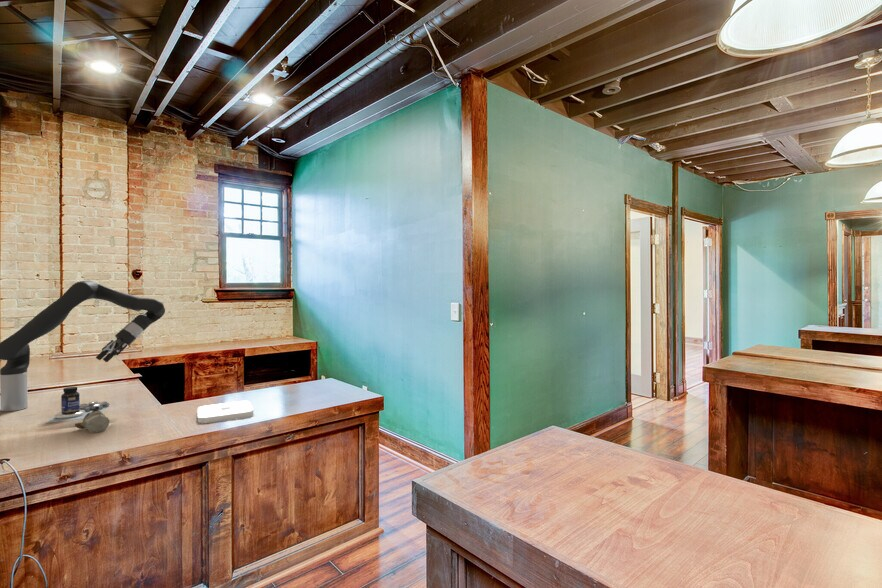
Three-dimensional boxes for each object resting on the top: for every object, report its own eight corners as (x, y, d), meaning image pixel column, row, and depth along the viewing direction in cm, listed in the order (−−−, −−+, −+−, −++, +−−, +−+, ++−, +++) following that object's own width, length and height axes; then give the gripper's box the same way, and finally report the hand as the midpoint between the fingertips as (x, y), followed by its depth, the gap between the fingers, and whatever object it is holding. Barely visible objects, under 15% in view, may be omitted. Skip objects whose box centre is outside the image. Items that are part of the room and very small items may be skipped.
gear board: (65, 411, 200) (65, 408, 200) (110, 407, 208) (110, 404, 208) (45, 426, 179) (45, 422, 179) (96, 420, 186) (96, 417, 186)
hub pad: (59, 414, 191) (59, 411, 191) (88, 411, 196) (88, 408, 196) (51, 420, 182) (51, 417, 182) (81, 417, 187) (81, 414, 187)
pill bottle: (68, 415, 186) (68, 389, 185) (57, 414, 187) (57, 389, 187) (83, 411, 192) (82, 386, 191) (72, 410, 193) (72, 385, 193)
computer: (254, 417, 192) (254, 411, 192) (197, 424, 181) (197, 418, 181) (249, 405, 211) (249, 400, 211) (197, 412, 200) (197, 406, 200)
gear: (78, 406, 203) (78, 400, 203) (111, 403, 209) (111, 397, 209) (69, 413, 192) (69, 407, 192) (104, 409, 198) (104, 404, 198)
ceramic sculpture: (83, 414, 166) (72, 410, 175) (83, 436, 166) (73, 431, 175) (116, 408, 174) (104, 404, 183) (116, 429, 174) (105, 425, 183)
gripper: (117, 327, 210) (88, 353, 201) (129, 329, 202) (100, 356, 193) (129, 337, 215) (102, 363, 205) (142, 339, 207) (114, 366, 197)
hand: (101, 359), depth 199 cm, fingers open, 8 cm apart
